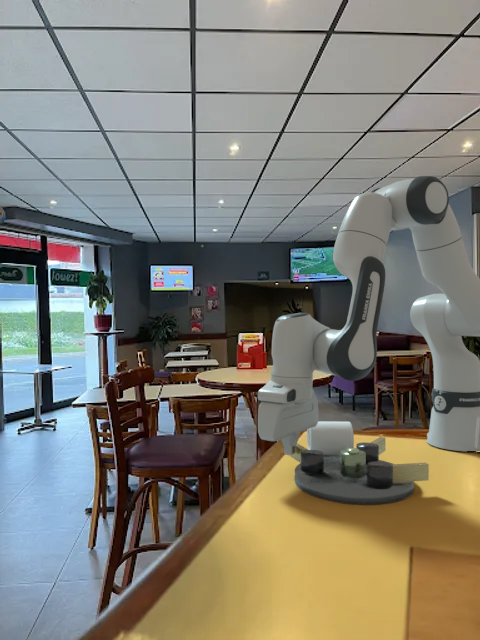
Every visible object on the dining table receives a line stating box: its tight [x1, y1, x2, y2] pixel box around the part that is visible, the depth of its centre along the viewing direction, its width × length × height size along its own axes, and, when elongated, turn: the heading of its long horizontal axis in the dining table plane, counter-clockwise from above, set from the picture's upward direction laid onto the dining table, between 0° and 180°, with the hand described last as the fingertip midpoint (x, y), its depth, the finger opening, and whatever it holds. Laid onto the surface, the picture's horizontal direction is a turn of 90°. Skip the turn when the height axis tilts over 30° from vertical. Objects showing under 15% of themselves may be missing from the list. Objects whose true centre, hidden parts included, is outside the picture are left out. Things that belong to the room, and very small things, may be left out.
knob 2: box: [355, 436, 386, 464], centre depth 108 cm, size 12×5×3 cm, turn 145°
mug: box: [306, 420, 355, 457], centre depth 120 cm, size 12×10×8 cm
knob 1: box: [290, 442, 325, 474], centre depth 103 cm, size 12×5×3 cm, turn 18°
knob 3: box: [367, 461, 430, 488], centre depth 92 cm, size 12×5×3 cm, turn 100°
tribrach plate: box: [294, 447, 415, 506], centre depth 99 cm, size 23×23×7 cm
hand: (289, 454), depth 105 cm, fingers closed
